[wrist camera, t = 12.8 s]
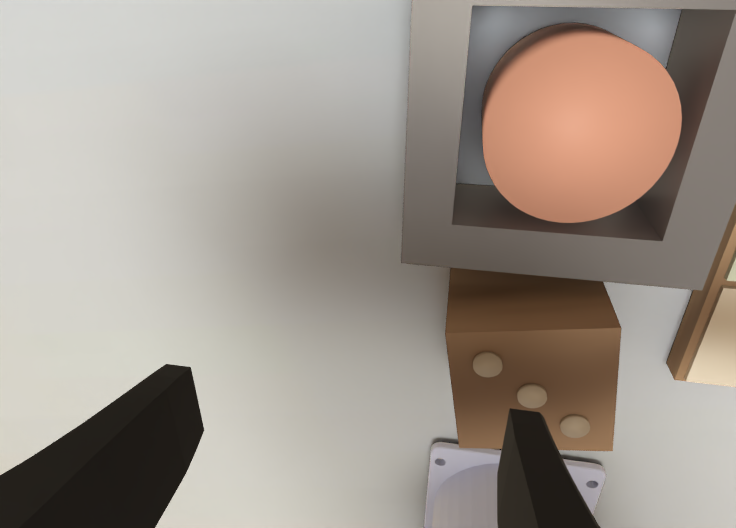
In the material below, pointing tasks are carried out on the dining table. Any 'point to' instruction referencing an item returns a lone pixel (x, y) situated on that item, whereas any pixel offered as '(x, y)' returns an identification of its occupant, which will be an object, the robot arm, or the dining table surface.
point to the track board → (710, 323)
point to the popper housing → (581, 239)
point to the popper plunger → (578, 123)
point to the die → (532, 356)
